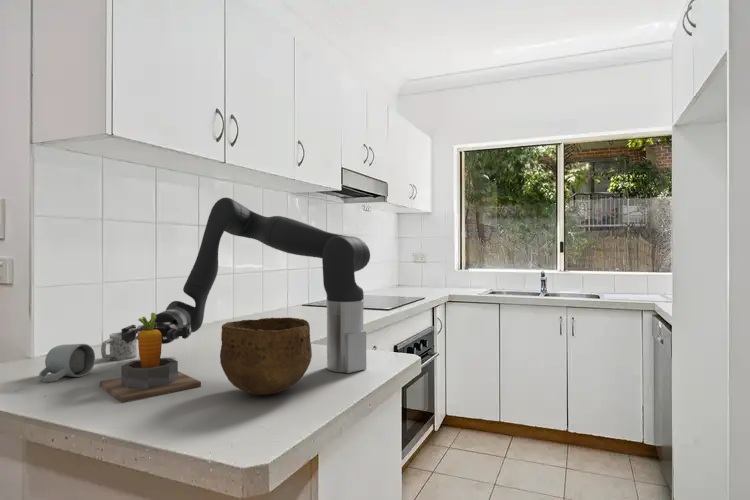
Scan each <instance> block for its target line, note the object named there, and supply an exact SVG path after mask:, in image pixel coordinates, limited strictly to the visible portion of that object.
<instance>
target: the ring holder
mask: <svg viewBox="0 0 750 500" xmlns="http://www.w3.org/2000/svg"><path fill="white" fill-rule="evenodd" d="M178 365H179V361H178V360H175V359H174V358H171V357H166V358H165V357H160V362H159V366H158V367H152V368H142V366H141V362H140V359H138V360H137V359H136V360H131V361H129V362H127V363H125V364H122V365H121V367H120V370H121V371H120V372H121V373H120V374H121V375H120V376H121V377H118V378H111V379H106V380H100V381H99V387H101V389H102V390H105V391H106V392H107V393H109V394H110V395H111V396H113V397H114V398H115V399H116V400H118V401H119V402H121V403H127V402H132V401H136V400H142V399H146V398H152V397H156V396H160V395H166V394H169V393H175V392H180V391H186V390H190V389H195V388H199V387H202V381H200V380H197V379H196V378H194V377H191V376H189V375H187V374H185V373H183V372H181V371H179V368H178V367H179V366H178Z"/></svg>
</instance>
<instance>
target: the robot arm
mask: <svg viewBox="0 0 750 500" xmlns="http://www.w3.org/2000/svg"><path fill="white" fill-rule="evenodd" d="M224 232H226V233H227V234H230V235H232V236H236V237H242V238H246V239H250V240H251V239H252V240H255V241H258V242H259V243H262V245H263V244H264V245H265V246H268V247H270V248H272V249H275V250H277V251H281V252H283V253H286V254H290V255H296V256H302V257H309V258H310V257H311V258H319V259H321V260H322V263H321V264H322V281H323V288H324V291H325V294H326V369H327V370H328V371H330V372H334V373H346V374H350V373H355V372H359V371H364V370H367V331H366V330H364V290H363V288H362V287H361V286H359V285H358V284H357V282H356V277H355V272H358V271H361V270H363V269H364V268H365V267H366V266H367V265H368V264H369V263H370V259H371V252H370V249H369V247H368V245H367V244H366V242H365V241H363V239H361V238H359V237H356V236H352V235H351V236H350V235H343V234H338V233H333V232H328V231H326V230H323V229H321V228H317V227H315V226H313V225H311V224H307V223H304V222H302V221H299V220H295V219H293V218H289V217H286V216H281V215H273V216H266V215H265V216H264V215H261V214H259V213H257V212H254V211H252V210H251V209H249V208H248V207H246V206H244V205H242V204H241V203H239V202H238V201H236V200H234V199H233V198H230V197H222V198H220V199H217V201H216V202H215V203H213V206H212V208H211V210H210V213H209V215H208V219H207V222H206V225H205V228H204V232H203V235H202V239H201V242H200V246H199V249H198V253H197V256H196V259H195V262H194V264H193V266H192V268H191V269H190V270H191V271H190V273H189V275H188V277H187V278H186V281H185V283H184V286H183V291H182V292H183V293H184V294H185V295H186V296H188V297H190V298H191V299H192V300H193V301H194V303H195V306H193V305H191V304H188V303H185V302H183V301H181V300H174V301H171V302H170V303H169V304H168V306H166V309H165V310H164V311H161V312H159V313H157V314H156V317H157V318H156V320H155V324H154V328H153V329H157V330H159V331H160V332H161V334H162V345H164V344H165V345H166V344H169V343H172V342H173V341H175V340H179V339H180V337H182V338H181V339H184V340H186V339H188V338H189V337H190V336H191V335H192V333H194V332H195V333H196V332H197V331H198V330H200V328H201V327H202V324H203V322H204V317H205V309H206V304H207V301H208V297H209V294H210V291H211V289H212V287H213V285H214V283H215V281H216V278H217V276H218V271H219V248H220V243H221V239H222V237H223V234H224ZM148 322H149V325H150V322H151V318H150V319H149V321H148ZM143 330H146V328H145V326H144V325H143V324H141V325H136V324H131V325H128V326H126V327H123V328H121V331H120V332H121V340H124V341H125V342H126V343H130V342H132V341H133V340H138V334H139V333H140V332H141V331H143ZM136 333H137V336H136Z"/></svg>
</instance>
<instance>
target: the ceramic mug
mask: <svg viewBox="0 0 750 500" xmlns="http://www.w3.org/2000/svg"><path fill="white" fill-rule="evenodd" d="M95 361H96V354H95V350H94V349H93V347H92V346H91V345H89V344H88V343H87V344H86V343H75V344H74V343H71V344H69V343H68V344H60V345H57V346H55V347H52V348H51V349H50V350H49V351H48V353H46V356H45V360H44V362H45V368H43V369H42V370H41V371H40V372H39V373H38V377H39V379H40V381H41V382H42V383H51V382H54V381H57V380H59V379H61V378H63V377H71V378H73V377H74V378H82V377H85V376H87V375H88V374H89V373H90V372H91V371H92V370H93V367H94V366H95ZM49 373H50V374H51V375H48V374H49ZM47 375H48V376H47Z"/></svg>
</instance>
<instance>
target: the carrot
mask: <svg viewBox="0 0 750 500" xmlns="http://www.w3.org/2000/svg"><path fill="white" fill-rule="evenodd" d="M156 315H157V314H156V313H155V312H151V314H150V319H151V322H150V325H149V321H148V320H147V319H148V318H147V317H146V316H142V317H140V318H138V322H140V323H141V324H142V325H144V326H145V328H146V330H143V331H141V332H140V333H139V334H138V339H137V340H138V341H137V345H138V356H139V360H140V362H141V366H142V368H152V367H158V366H159V362H160V358H162V357H161V356H162V345H163V344H162V334H161V332H160V331H159V330H157V329H153V328H154V324H155V320H156V318H157V317H156Z"/></svg>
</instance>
